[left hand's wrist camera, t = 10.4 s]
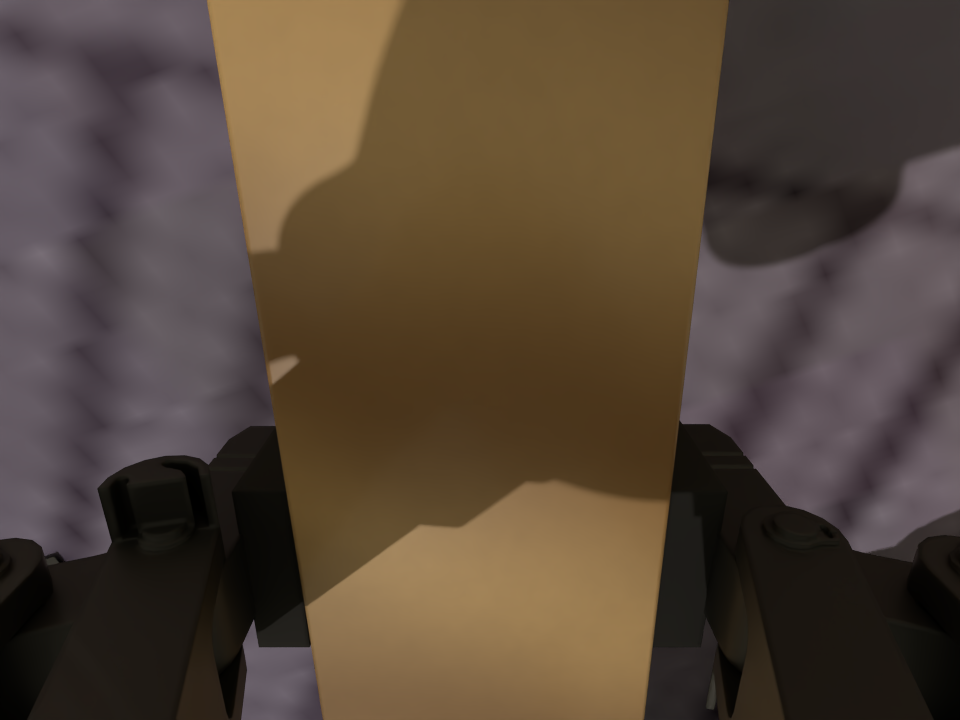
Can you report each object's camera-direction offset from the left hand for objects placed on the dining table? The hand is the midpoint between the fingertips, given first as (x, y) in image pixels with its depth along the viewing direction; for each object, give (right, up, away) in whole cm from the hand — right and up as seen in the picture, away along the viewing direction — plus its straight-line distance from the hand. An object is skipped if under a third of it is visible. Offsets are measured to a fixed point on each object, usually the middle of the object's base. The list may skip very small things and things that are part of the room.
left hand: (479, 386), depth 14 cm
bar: (-1, +32, -12) cm, 34 cm away
